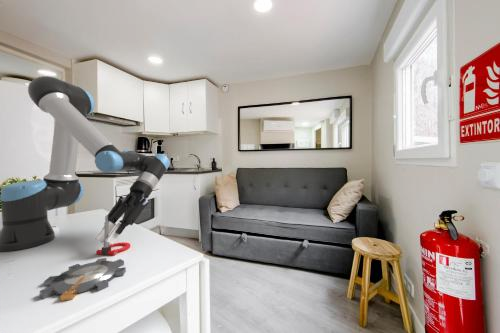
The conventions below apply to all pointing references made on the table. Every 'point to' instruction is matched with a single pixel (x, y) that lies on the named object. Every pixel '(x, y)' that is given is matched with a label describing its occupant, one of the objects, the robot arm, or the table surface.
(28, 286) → the table surface
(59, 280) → the sprocket plate
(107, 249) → the tow hook
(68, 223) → the table surface
